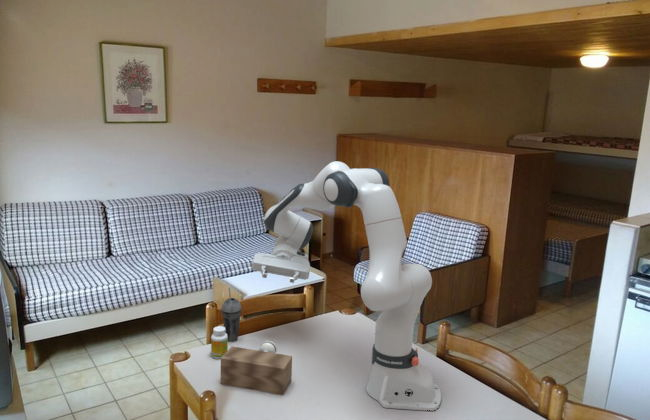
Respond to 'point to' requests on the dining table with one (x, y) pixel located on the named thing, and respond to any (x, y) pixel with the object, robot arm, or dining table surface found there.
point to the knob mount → (256, 370)
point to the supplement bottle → (219, 342)
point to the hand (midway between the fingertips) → (278, 278)
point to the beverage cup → (231, 317)
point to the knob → (268, 347)
